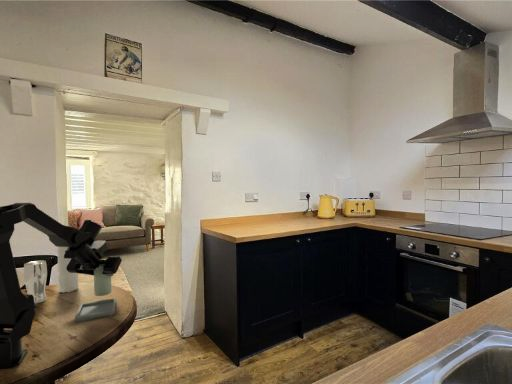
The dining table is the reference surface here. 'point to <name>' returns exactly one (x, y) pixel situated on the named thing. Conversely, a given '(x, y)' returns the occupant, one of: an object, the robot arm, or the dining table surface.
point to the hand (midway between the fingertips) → (105, 274)
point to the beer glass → (36, 279)
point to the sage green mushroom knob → (101, 282)
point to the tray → (96, 310)
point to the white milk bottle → (65, 273)
